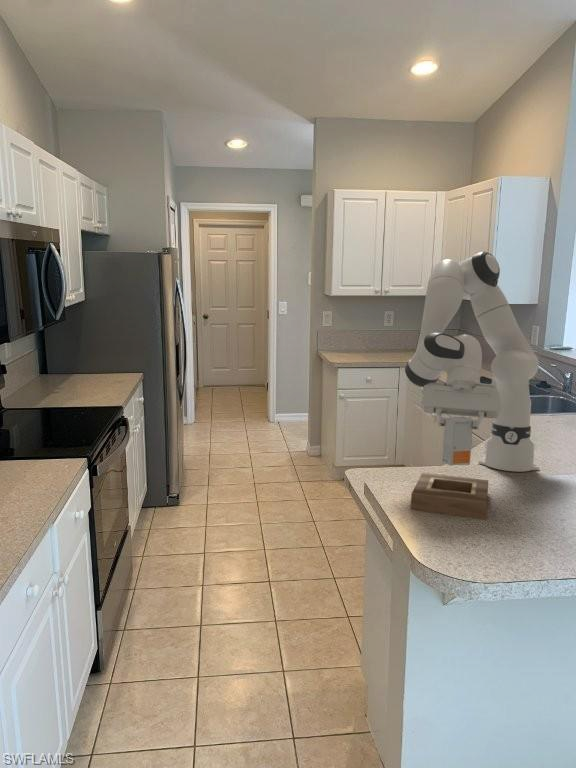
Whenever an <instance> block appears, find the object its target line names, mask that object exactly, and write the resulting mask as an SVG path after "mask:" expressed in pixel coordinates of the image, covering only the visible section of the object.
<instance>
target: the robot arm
mask: <svg viewBox="0 0 576 768" xmlns="http://www.w3.org/2000/svg"><path fill="white" fill-rule="evenodd" d="M500 271H501V269H500V265H499V262H498V261H497V259H496V257H495V256H494V255H493V254H491V253H489V252H487V251H480V252H477V253H475V254H473V255H472V256H471V257H467V258H465V259H464V260H462V261H460V262H458V261H456V260H453V259H444V260H440V261H439V262H438V263H436V264H435V266H434V267H433V269H432V271H431V274H430V276H429V279H428V282H427V286H426V287H427V288H426V293H425V300H424V306H423V307H424V308H423V315H422V321H421V326H420V331H419V333H418V338H417V342H416V347H415V351H414V354H413V355H412V357H411V358H410V359H409V360H408V362H407V363H406V365H405V366H404V371H405V375H406V377H407V379H408V380H409V381H410V382H411V384H413V385H414V386H417V387H419V388H420V387H421V388H422V398H421V405H420V407H421V410H422V412H423V413H426V414H435V417H436V419H437V421H438V427H444V424H445V418H446V417H443V416H442V415H449V416H453V415H454V416H459V417H460V416H462V417H473V418H474V417H476V418H477V419H476V420H475V419H472V420H473V428H472V430H479V425H480V424H482V422H483V421H484V419H485V418H487V419H493V422H492V426H491V435H490V437H489V438H488V439H486V442H485V446H484V448H485V451H484V456H483V457H481V458H480V459H478V464H479V465H483V466H487V467H489V468H493V469H494V470H496V469H497V470H500V471H506V472H516V473H517V472H521V473H522V472H530V471H540V466H539V464H537V463H536V462H535V461H534V460H535V444H534V443H533V441H532V440H531V439H530V437H531V434H532V433H531V432H532V429H531V428H532V427H531V426H530V424H531V411H532V400H531V396H530V393H531V392H530V380H531V379H532V378H533V377H535V375H536V374H537V373H538V370H539V369H540V368H539V366H540V362H539V359H538V356H537V355H536V354H535V352H534V351H533V348H532V347H531V345H530V344H529V342H528V340H527V338H526V337H525V335H524V334H523V332H522V330H521V328H520V327H519V324H518V322H517V320H516V317H515V316H514V313H513V311H512V308H511V306H510V304H509V302H508V301H509V300H507V298H506V295H505V293H504V292H503V290H502V288H500V286H499V285H498V283H499V278H500V273H501V272H500ZM467 298H470V299H469V300H470V305H471V307H472V311H473V313H474V317H475V318H476V321H477V322H478V325H479V328H480V330H481V333H482V335H483V337H484V340H485V341H486V342H487V344H488V345H489V346H490V348H491V349H492V351H493V353H494V354H495V355H496V356H495V357H494V359H493V360H492V362H491V364H490V371H491V375H492V377H493V378H492V377H489V376H485V375H483V374H481V372H480V371H481V369H482V364H483V352H482V351H483V350H482V346H481V344H480V342H479V340H478V339H477V338H476V337H474V336H472V335H471V334H464V333H463V334H459V335H456V336H455V335H454V336H453V335H450V334H447V333H444V331H445V329H446V328H447V326H448V325H449V324H450V322H452V319H453V318H454V317H455V316H456V314H457V312H458V311H459V309H460V307H461V305H462V302H463V300H465V299H467ZM444 372H445V373H446V381H445V382H446V383H441V382H439V383H437V382H438V381H439V379H440V377H441V375H442V374H443V373H444Z"/></svg>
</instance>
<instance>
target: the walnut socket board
mask: <svg viewBox="0 0 576 768" xmlns="http://www.w3.org/2000/svg"><path fill="white" fill-rule="evenodd" d="M488 493H489V480H487V479H482V478H481V479H479V478H471V477H462V476H454V475H446V474H438V473H436V474H435V473H428V472H422V473H420V476H419V479H418V480H417V482H416V484H415V486H414V488H413V490H412V492H411V495H410V496H411V497H410V510H414V511H415V510H416V511H422V512H428V513H435V514H443V515H450V516H457V517H465V518H466V517H467V518H473V519H480V520H487V511H488V496H489V494H488Z"/></svg>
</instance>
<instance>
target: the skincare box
mask: <svg viewBox="0 0 576 768" xmlns="http://www.w3.org/2000/svg"><path fill="white" fill-rule="evenodd" d="M444 418H445V424H444V426H443V439H442V455H441V462H442V463H443V464H446V465H448V466H452V467H453V466H469V465H471V455H472V441H473V429H472V428H473V420H474V419H471V418H468V417H466V416H462V417H460V416H459V417H456V416H455V417H444Z"/></svg>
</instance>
